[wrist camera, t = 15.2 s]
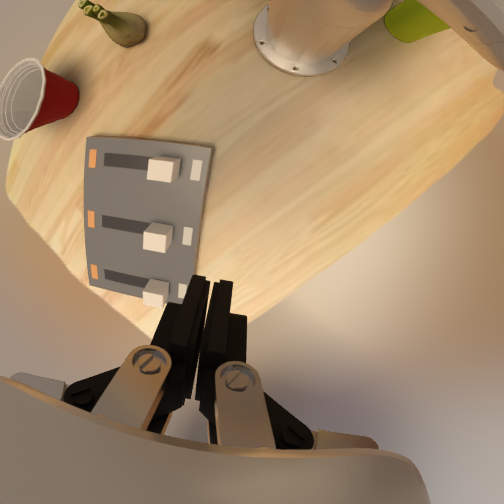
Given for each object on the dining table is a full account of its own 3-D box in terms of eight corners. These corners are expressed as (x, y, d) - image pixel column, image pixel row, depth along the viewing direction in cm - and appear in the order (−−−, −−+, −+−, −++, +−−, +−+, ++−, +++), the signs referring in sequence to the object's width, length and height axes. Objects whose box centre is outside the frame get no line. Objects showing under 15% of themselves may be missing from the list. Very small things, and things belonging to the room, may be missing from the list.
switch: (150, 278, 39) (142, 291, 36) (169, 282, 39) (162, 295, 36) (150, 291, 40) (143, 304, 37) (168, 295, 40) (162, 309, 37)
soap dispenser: (377, 31, 25) (462, -15, 7) (390, 4, 23) (466, -43, 5) (409, 54, 26) (504, 30, 8) (420, 26, 24) (506, -4, 6)
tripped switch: (152, 222, 35) (143, 231, 32) (173, 225, 35) (166, 235, 32) (151, 238, 36) (143, 248, 33) (172, 242, 36) (164, 253, 33)
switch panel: (95, 135, 32) (86, 137, 30) (214, 147, 34) (211, 148, 31) (96, 277, 42) (89, 285, 40) (192, 299, 44) (189, 308, 41)
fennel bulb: (114, 27, 25) (71, 4, 14) (144, 11, 24) (107, -20, 13) (123, 55, 27) (77, 36, 16) (154, 39, 26) (116, 11, 16)
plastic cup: (100, 64, 27) (51, 51, 17) (85, 133, 32) (33, 142, 21) (50, 68, 26) (0, 63, 15) (38, 130, 31) (-12, 140, 20)
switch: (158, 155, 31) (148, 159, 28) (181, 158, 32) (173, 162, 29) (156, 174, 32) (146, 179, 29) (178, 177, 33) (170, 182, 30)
